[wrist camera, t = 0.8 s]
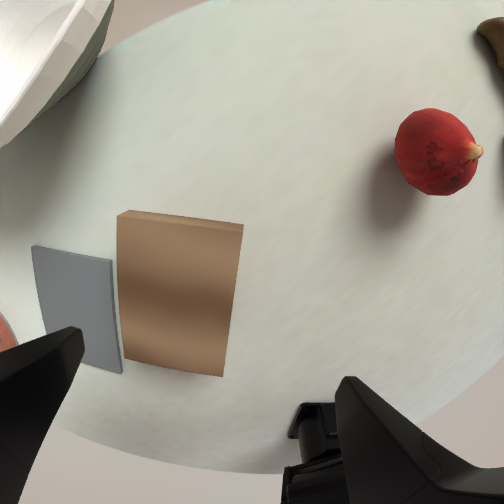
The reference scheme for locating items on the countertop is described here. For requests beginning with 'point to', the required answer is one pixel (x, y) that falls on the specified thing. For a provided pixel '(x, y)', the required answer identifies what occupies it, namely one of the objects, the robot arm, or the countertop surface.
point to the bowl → (45, 55)
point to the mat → (79, 301)
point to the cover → (176, 289)
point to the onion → (436, 152)
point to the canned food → (6, 335)
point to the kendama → (494, 36)
